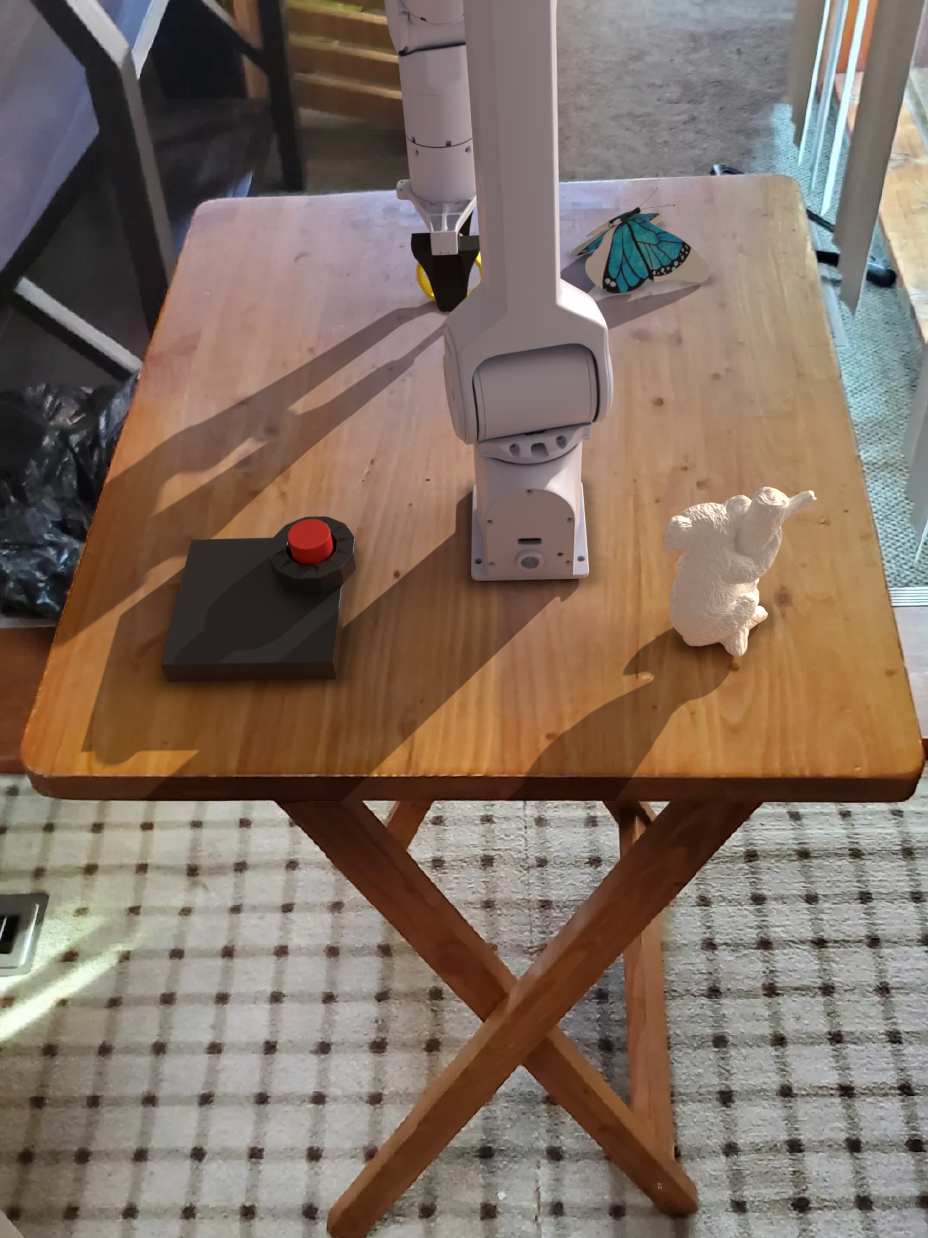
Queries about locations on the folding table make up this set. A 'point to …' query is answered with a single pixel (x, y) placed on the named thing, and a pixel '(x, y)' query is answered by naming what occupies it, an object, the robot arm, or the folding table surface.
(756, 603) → the koala figurine
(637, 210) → the decorative butterfly
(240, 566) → the black red button box
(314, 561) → the button
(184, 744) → the folding table surface
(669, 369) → the folding table surface
